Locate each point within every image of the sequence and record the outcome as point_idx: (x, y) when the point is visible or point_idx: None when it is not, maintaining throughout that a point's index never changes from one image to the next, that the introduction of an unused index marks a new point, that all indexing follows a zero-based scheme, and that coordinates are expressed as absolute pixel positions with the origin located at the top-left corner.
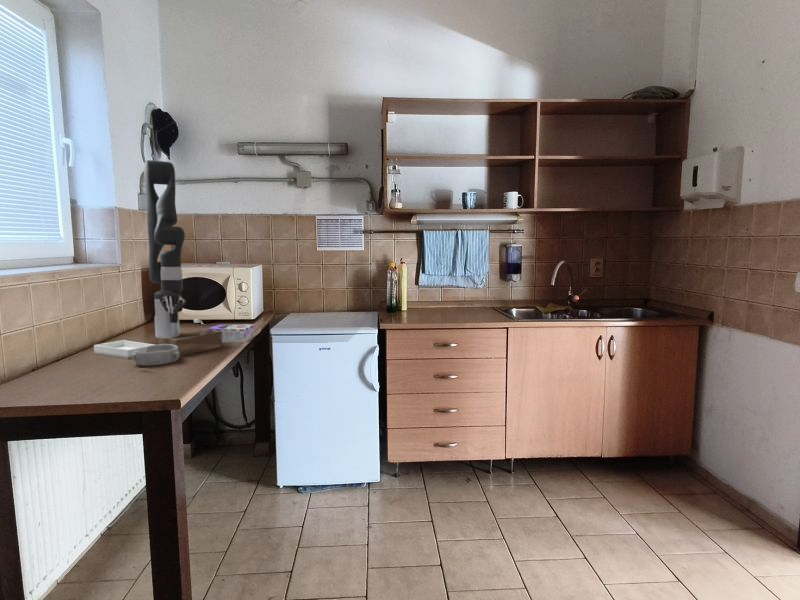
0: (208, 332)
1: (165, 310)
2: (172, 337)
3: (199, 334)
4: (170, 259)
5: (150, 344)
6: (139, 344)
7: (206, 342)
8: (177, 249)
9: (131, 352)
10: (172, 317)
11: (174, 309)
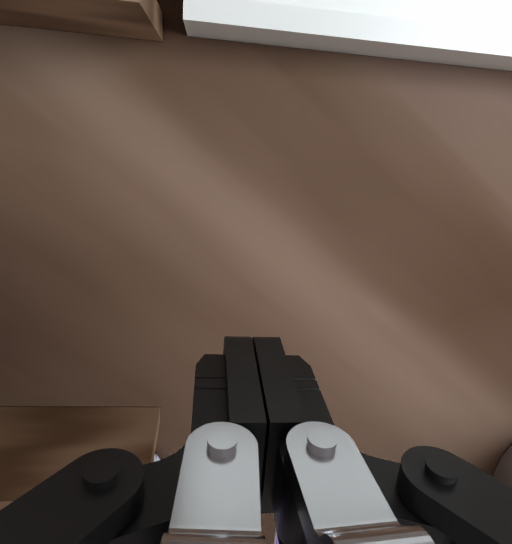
0: (17, 486)
1: (449, 459)
2: (505, 460)
3: (150, 462)
4: None
5: (254, 4)
6: (419, 25)
7: None
8: None
9: None
10: (229, 381)
11: (121, 506)
